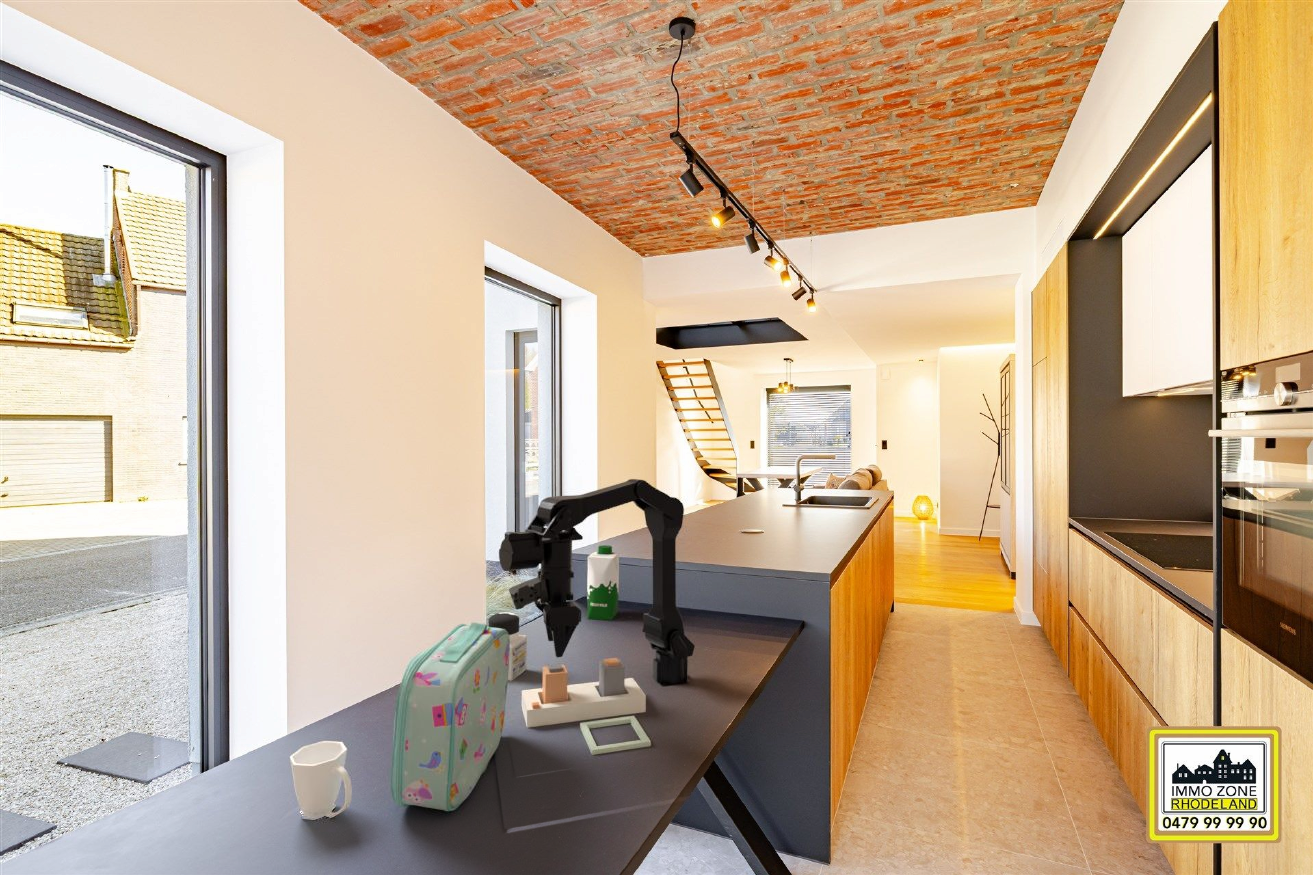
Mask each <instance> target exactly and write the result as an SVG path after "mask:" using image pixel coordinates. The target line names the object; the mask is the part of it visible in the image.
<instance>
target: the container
mask: <svg viewBox="0 0 1313 875" xmlns="http://www.w3.org/2000/svg"><path fill="white" fill-rule="evenodd" d="M487 627H492V628H500V629H505V630H506V631H507V632H508V634H509V639H510V652H509V670H508V681H513V680H515V679H516V678H517V677H519V676H521V674H522V673H524V672H525V671H526V670H527V661H528V658H527V655H528V654H527V652H528V649H527V648H528V647H527V644H528V636H527V635H525V634H520V616H519V615H518V614H517V613H512V612H507V611H506V612H499V613H498V612H497V613H495V614H493V615H491V616H489V618H488V625H487Z"/></svg>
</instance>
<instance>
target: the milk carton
mask: <svg viewBox="0 0 1313 875" xmlns="http://www.w3.org/2000/svg"><path fill="white" fill-rule="evenodd" d="M597 550H598V551H594V552H592V553H591V554H589V555H588V556H587V578H586V579H587V584H586V587H587V590H586V592H587V593H586V594H587V595H586V600H587V602H586V603H587V620H602V621H603V620H604V621H612V620H614V618H615V617H616V615H617V613H618V608H619V607H618V606H619V597H620V596H619V587H620V586H619V585H620V584H619V582H620V578H619V577H620V559H619V558H620V552H613V546H612V545H606V544H605V545H599V546H598V548H597Z"/></svg>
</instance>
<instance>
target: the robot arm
mask: <svg viewBox="0 0 1313 875" xmlns="http://www.w3.org/2000/svg"><path fill="white" fill-rule="evenodd" d="M631 502H633V503H634V504H635V506H636V507H638V508H639V509H640V510H642V512H643V513H644V518H645V525H646V527H647V529H648V532H649V533H650V535H651V540H652V605H651V608H650V610H649V612H644V613H643V615H642V621H643V626H642V630H641V632H642V633H644V635H645V636H644V637H645V638H646V640H647V641H648V642H649V645H650V647H651V649H652V650H655V657H654V658H653V662H652V663H653V664H652V669H653V670H652V672H653V673H652V677H653V679H654V680H655V682H657V683H658V684H659V685H660V686H661V687H671V686H680V685H688V684H691V681H690V680H689V679H688V669H689V668H688V667H689V666H688V665H689V664H688V659H689V658H688V657H692V656H693V655H694V654H693V653H694V650H695V644H694V643H693V642H692V641H691V640H690V638H688V637H687V636H686V634H685V628H684V627H685V626H684V621H683V617H682V616H681V613H680V611H679V608H678V607H677V574H676V573H677V568H676V566H677V565H676V564H677V557H676V556H677V555H676V553H677V552H676V545H677V544H676V543H677V542H676V540H677V536H678V535H679V532H680V531H681V528H682V526H683V522H684V521H683V520H684V513H685V508H684V507H685V506H684V504H683V502H682V501H681V500H680V499H679V498H677V497H673V496H670V495H669V494H667V493H665V492H663V491H661V490H660V489H658V488H656V487H654V486H652V484H650V483H649V482H647V481H646V480H645V479H637V478H630V479H627V480H626V481H623V482H619V483H617V484H613V485H611V486H610V485H609V486H606V487H602V488H599V489H597V490H592V491H590V492H586V493H583V494H578V495H577V494H575V495H557V496H548V497H545V498H544V499H542V500H541V501H540V503H539V505H538V507H537V511H536V514H535V515H534V517H533V518H532V520H531V521H530V522H529V524H528V525H527V527H526V529H524V530H525V531H517V532H516V531H515V532H514V531H506V532H504V539H503V540H502V541H501V544H500V548H499V549H498V559H499V564H500V567H501V568H502V570H503V571H504V572H511V571H521V570H529V569H536V568H537V567H539V565H540V568H539V570H537V577H535V578H532V579H528V580H526V581H524V582H521V583H519V584H515V585H513V586H511V587H509V588H508V592H509V595H510V597H511V600H512V603H513V606H514V608H515V610H521V609H524V607H525V606H528V605H531V604H532V603H534V604H535V607H536V608H537V609H538V610H539V611H540V612H541V613H542V616H543V623H544V625H545V631H546V635H547V636H546V637H547V640H548V642H553V646H554V653H555V657H556V658H562V657H563V656H564V653H565V651H566V650H567V648H568V645H569V644H570V641H571V639H572V636H573V634H574V632H575V631H576V628H577V626H579V624H580V622H582V610H581V608H580V607H579V606H578V604H576V603H575V602H574V594H573V592H572V579H574V577H575V576H574V574H575V572H574V571H573V568H572V567H573V565H572V564H573V563H572V562H573V560H572V559H573V542H574V541H582V540H583V539H584V537H583V535H581V534H580V533H579V532H578V530H577V529H576V526H578V525H579V524H581V523H583V522H584V521H585V520H586V519H587V518H588V517H590V516H592V515H595V514H597V513H601V512H603V511H607V510H611V509H614V508H616V507H620V506H622V505H623V506H624V505H626V504H628V503H631Z"/></svg>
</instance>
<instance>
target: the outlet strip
mask: <svg viewBox="0 0 1313 875" xmlns="http://www.w3.org/2000/svg"><path fill="white" fill-rule="evenodd" d="M646 702H647V695H646V694H645V692H644V691H643V690H642V688H641V687H640V686H639V685H638V683H637V682H636V680H635V679H634V678H633V677H628V678H625V682H624V694H622V695H614V696H606V697H601V696H600V695H599V681H593V682H584V683H576V684H567V701H565V702H557V703H549V704H542V687H541V688H540V687H539V688H532V689H523V690H521V709H522V713H523V718H524V721H525V725H526V728H532V727H533V728H535V727H536V728H537V727H541V726H549V725H557V724H564V723H572V722H573V723H574V722H580V721H587V720H595V719H602V718H610V717H617V716H618V717H619V716H625V715H633V714H639V713H646V709H647V706H646V705H647V704H646Z"/></svg>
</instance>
